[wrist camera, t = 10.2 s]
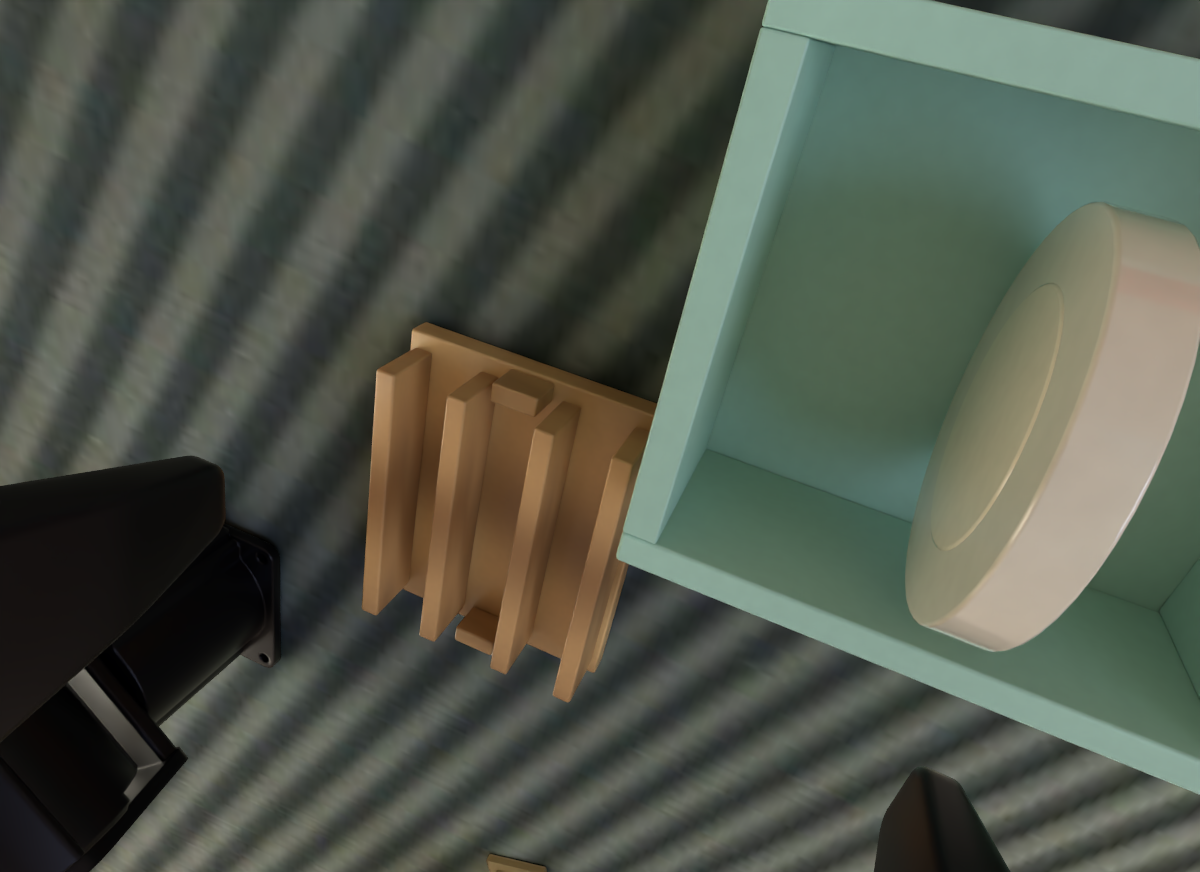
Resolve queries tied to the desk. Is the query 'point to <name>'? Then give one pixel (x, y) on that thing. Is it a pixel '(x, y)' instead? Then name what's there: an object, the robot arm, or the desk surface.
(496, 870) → the eiffel tower
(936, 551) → the plate
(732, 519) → the mint green open box
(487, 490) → the dish rack
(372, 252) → the desk surface
